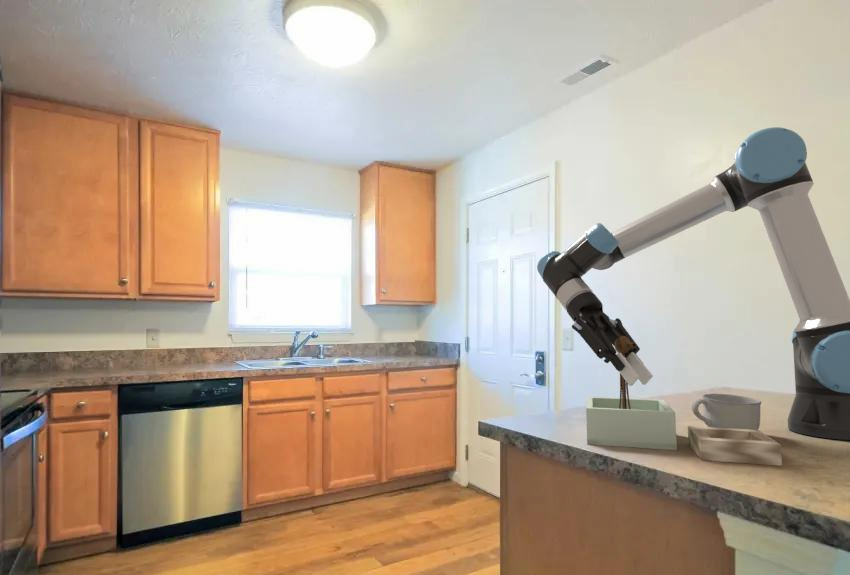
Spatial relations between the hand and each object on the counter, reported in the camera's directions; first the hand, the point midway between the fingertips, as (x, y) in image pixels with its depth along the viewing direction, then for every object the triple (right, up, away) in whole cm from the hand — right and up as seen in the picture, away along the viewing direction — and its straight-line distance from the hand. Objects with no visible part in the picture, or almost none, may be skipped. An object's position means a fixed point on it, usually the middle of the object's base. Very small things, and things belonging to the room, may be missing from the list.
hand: (641, 380), depth 102 cm
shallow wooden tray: (+12, -11, -10) cm, 19 cm away
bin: (-2, -12, +3) cm, 13 cm away
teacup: (+20, -13, +6) cm, 25 cm away
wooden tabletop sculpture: (-2, -11, +3) cm, 12 cm away
